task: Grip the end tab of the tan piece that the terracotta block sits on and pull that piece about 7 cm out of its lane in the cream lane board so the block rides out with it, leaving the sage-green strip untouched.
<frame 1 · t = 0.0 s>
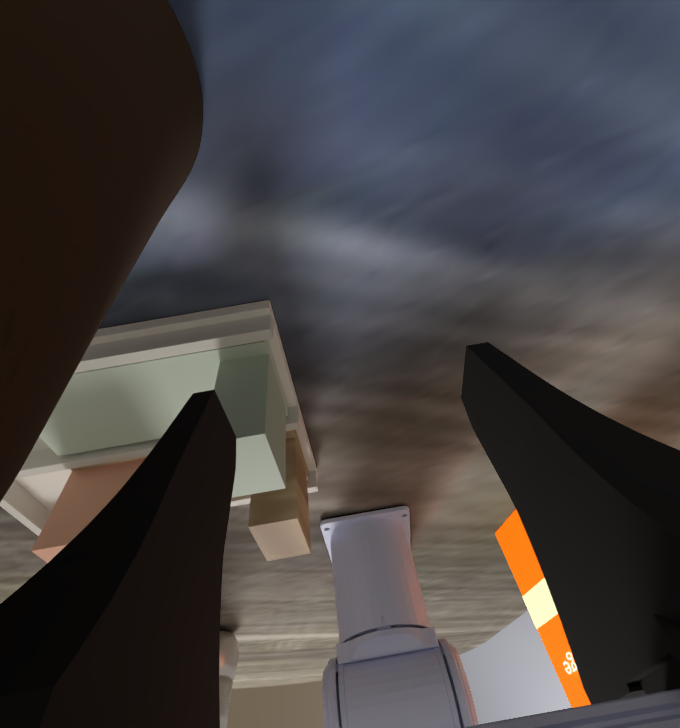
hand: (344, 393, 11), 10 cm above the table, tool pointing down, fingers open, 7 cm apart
block: (130, 486, 26), point 2 cm above the table, touching tan piece
strip B: (141, 434, 20), point 4 cm above the table, slide at 0.0 cm
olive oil: (68, 82, 14), on the table
orange juice: (547, 508, 38), on the table
plastic bottle: (213, 630, 48), on the table
tan piece: (191, 505, 24), point 4 cm above the table, slide at 0.0 cm, touching block
lane board: (145, 426, 25), on the table
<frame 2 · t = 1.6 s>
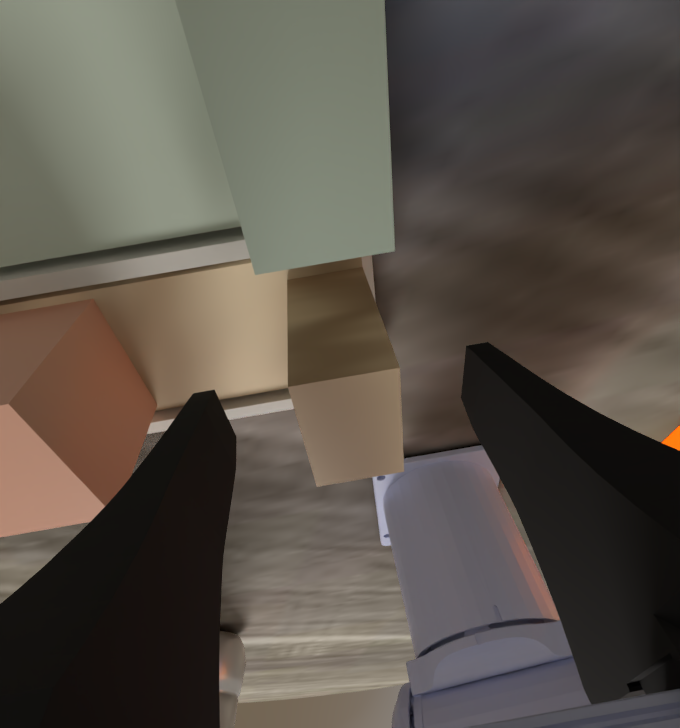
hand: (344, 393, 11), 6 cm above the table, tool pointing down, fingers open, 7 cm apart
block: (62, 369, 14), point 2 cm above the table, touching tan piece
strip B: (38, 159, 8), point 4 cm above the table, slide at 0.0 cm
plastic bottle: (211, 631, 37), on the table
tan piece: (167, 388, 13), point 4 cm above the table, slide at 0.0 cm, touching block
lane board: (86, 253, 14), on the table
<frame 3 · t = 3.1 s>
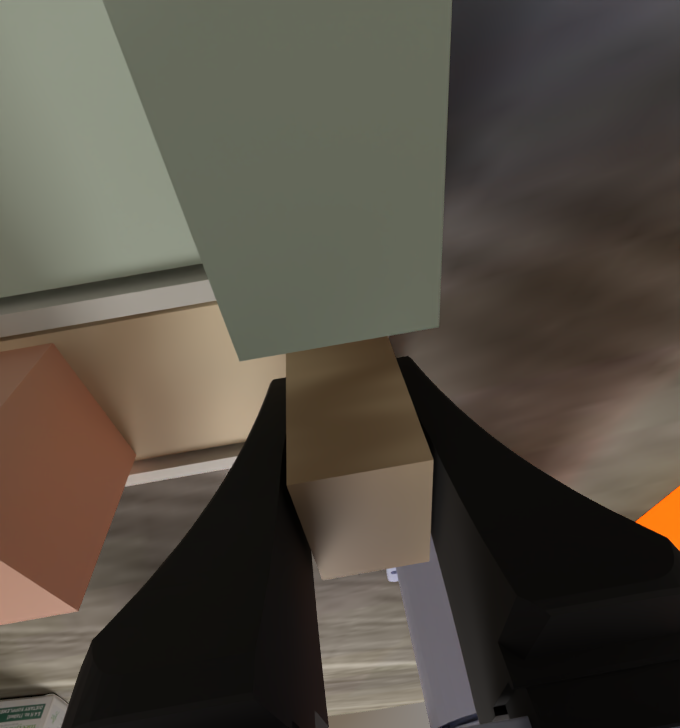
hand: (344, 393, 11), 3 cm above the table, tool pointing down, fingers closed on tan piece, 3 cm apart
block: (21, 419, 12), point 2 cm above the table, touching tan piece
syrup box: (33, 701, 36), on the table
tan piece: (142, 451, 10), point 4 cm above the table, slide at 0.0 cm, touching block, gripper
lane board: (47, 285, 11), on the table
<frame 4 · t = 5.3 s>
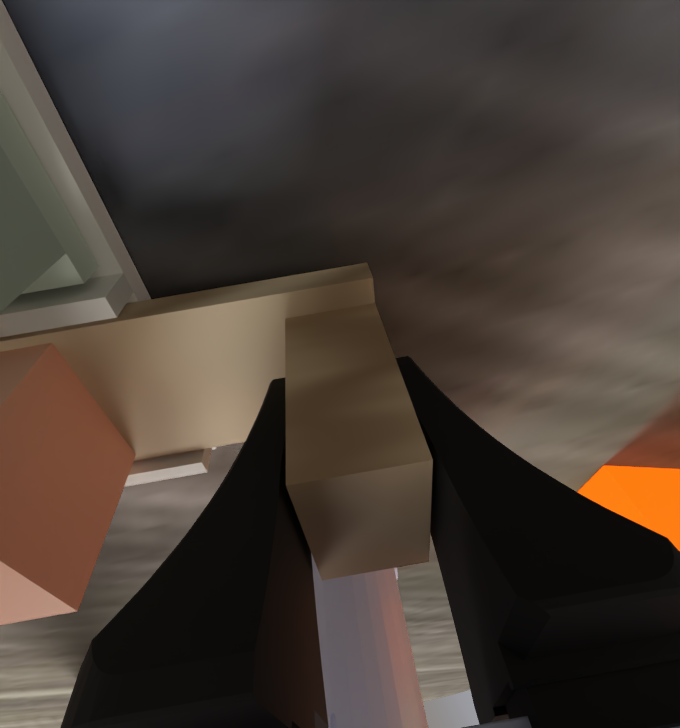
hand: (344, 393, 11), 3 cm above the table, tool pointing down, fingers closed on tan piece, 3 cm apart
block: (21, 419, 12), point 2 cm above the table, touching tan piece
orange juice: (608, 507, 25), on the table
tan piece: (141, 451, 10), point 4 cm above the table, slide at 7.3 cm, touching block, gripper
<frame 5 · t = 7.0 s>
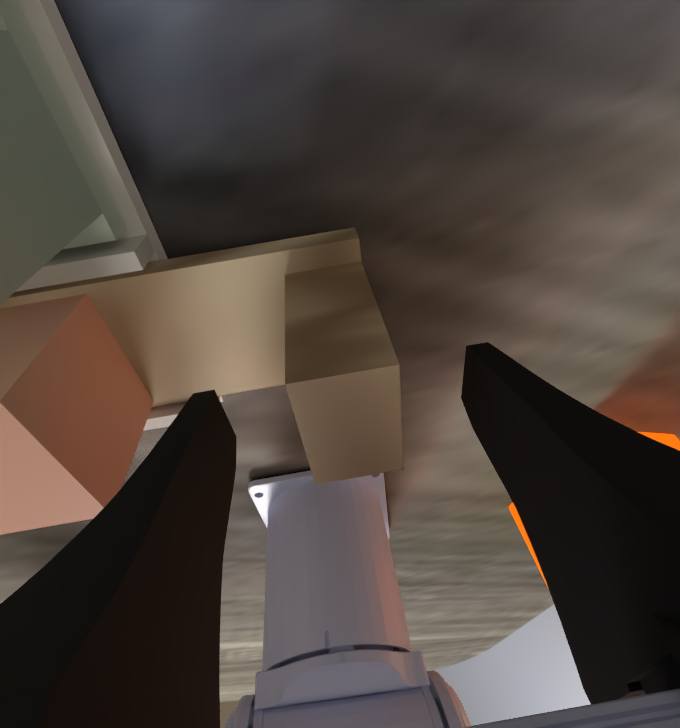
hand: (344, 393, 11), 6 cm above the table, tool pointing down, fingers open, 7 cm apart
block: (56, 365, 14), point 2 cm above the table, touching tan piece
orange juice: (584, 470, 27), on the table
tan piece: (163, 385, 12), point 4 cm above the table, slide at 7.3 cm, touching block
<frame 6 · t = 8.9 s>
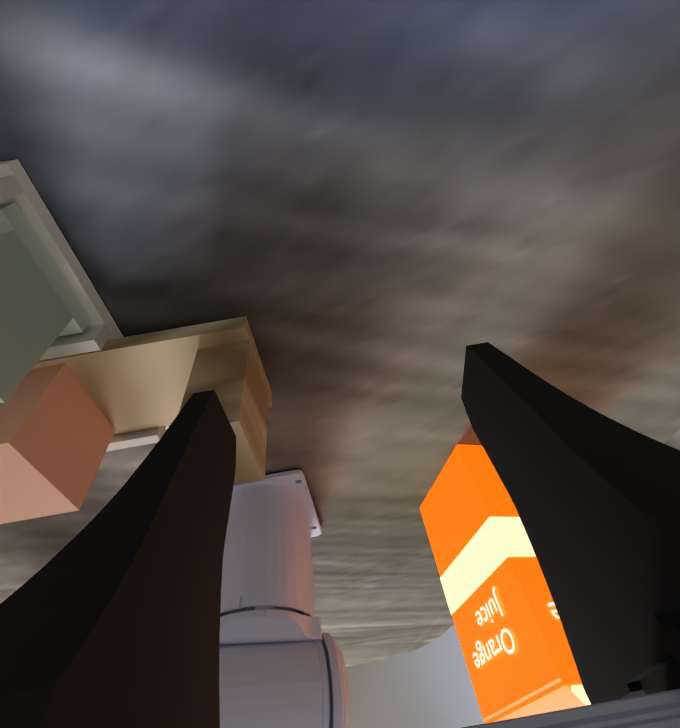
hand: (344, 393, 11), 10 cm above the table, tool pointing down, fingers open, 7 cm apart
block: (45, 407, 20), point 2 cm above the table, touching tan piece
orange juice: (476, 477, 33), on the table
tan piece: (115, 424, 19), point 4 cm above the table, slide at 7.3 cm, touching block
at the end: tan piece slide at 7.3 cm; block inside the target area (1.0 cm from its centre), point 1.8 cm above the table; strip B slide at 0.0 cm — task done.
